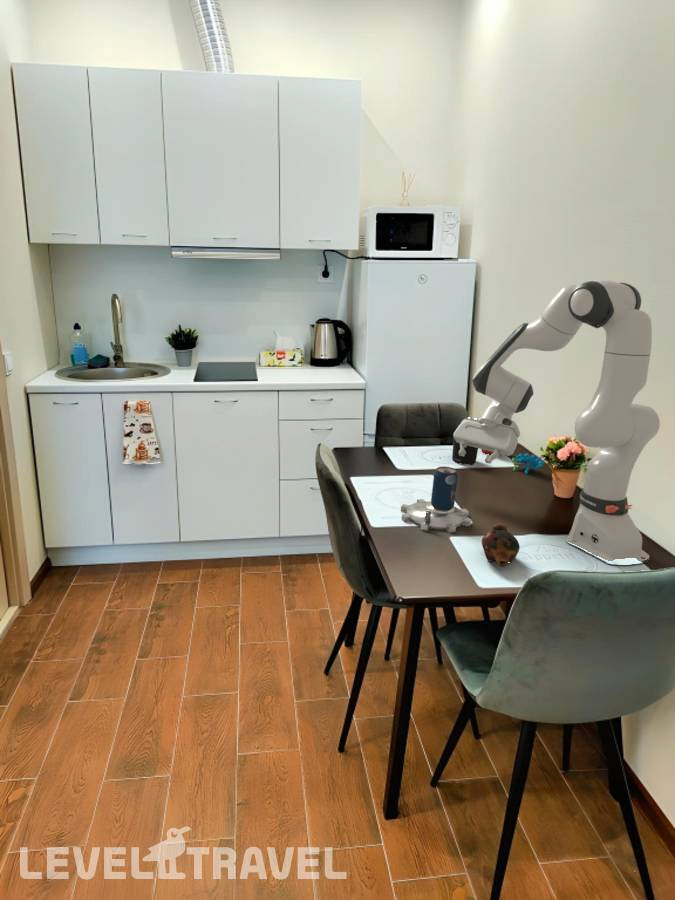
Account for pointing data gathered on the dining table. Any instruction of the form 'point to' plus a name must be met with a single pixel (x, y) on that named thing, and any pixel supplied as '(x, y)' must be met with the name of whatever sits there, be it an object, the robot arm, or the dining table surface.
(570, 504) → the dining table surface
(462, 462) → the pen holder
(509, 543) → the decorative turtle
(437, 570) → the dining table surface
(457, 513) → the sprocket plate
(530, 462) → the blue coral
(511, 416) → the robot arm
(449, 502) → the soda can
